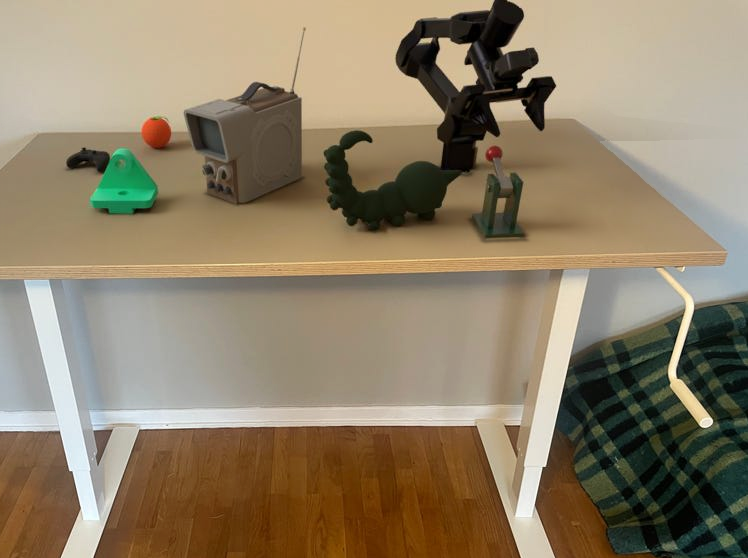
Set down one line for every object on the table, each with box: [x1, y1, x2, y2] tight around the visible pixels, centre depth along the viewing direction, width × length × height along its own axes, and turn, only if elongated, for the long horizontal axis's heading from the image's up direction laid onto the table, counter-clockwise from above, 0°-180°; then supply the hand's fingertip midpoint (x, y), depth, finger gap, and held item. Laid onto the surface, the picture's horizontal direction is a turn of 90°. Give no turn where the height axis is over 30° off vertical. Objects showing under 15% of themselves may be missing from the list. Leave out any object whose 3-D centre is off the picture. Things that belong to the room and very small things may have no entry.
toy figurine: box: [322, 129, 463, 231], centre depth 132 cm, size 9×19×25 cm
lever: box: [485, 145, 513, 199], centre depth 131 cm, size 11×3×3 cm, turn 2°
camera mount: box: [89, 147, 159, 214], centre depth 143 cm, size 12×8×10 cm, turn 86°
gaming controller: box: [65, 147, 111, 173], centre depth 164 cm, size 10×5×6 cm
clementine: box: [141, 115, 172, 149], centre depth 172 cm, size 8×7×7 cm
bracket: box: [471, 172, 525, 239], centre depth 131 cm, size 9×7×10 cm
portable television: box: [183, 26, 307, 205], centre depth 144 cm, size 12×24×30 cm, turn 137°
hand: (520, 132), depth 134 cm, fingers open, 9 cm apart
